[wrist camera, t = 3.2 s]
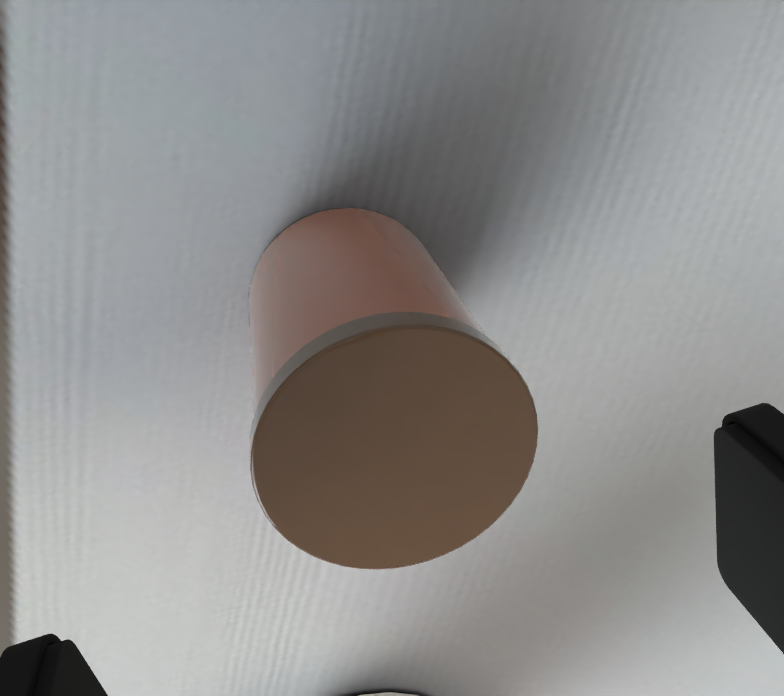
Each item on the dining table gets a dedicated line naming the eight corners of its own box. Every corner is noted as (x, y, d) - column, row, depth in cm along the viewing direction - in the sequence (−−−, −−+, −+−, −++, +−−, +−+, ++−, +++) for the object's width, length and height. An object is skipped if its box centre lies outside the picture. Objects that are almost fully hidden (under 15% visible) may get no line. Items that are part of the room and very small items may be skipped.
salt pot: (215, 236, 17) (205, 379, 11) (419, 178, 18) (517, 287, 12) (279, 409, 20) (299, 603, 14) (457, 355, 20) (555, 522, 14)
